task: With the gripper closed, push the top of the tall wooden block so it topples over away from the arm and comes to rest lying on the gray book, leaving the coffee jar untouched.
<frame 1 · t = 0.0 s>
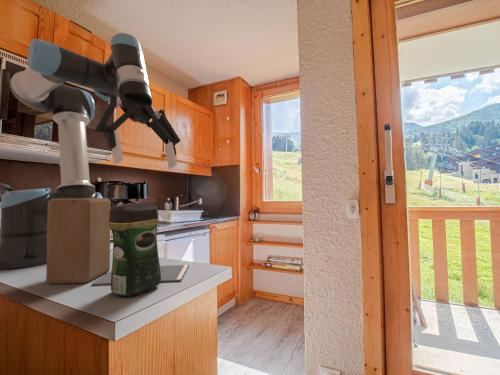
hand: (148, 164, 59), 28 cm above the counter, tool tilted 20°, fingers open, 13 cm apart
coffee jar: (136, 289, 53), on the counter, touching gray book
wooden block: (80, 278, 62), on the counter
gray book: (146, 274, 64), on the counter
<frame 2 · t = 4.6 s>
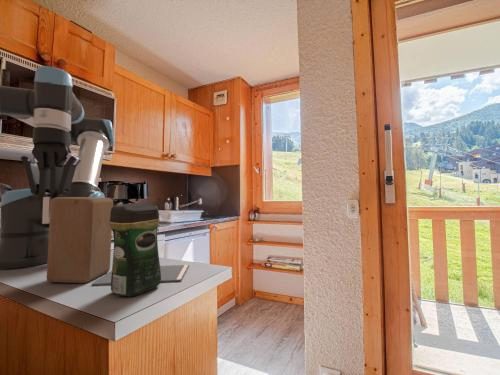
hand: (49, 223, 61), 14 cm above the counter, tool pointing down, fingers closed
wooden block: (80, 277, 62), on the counter, touching gripper
everything else where it was.
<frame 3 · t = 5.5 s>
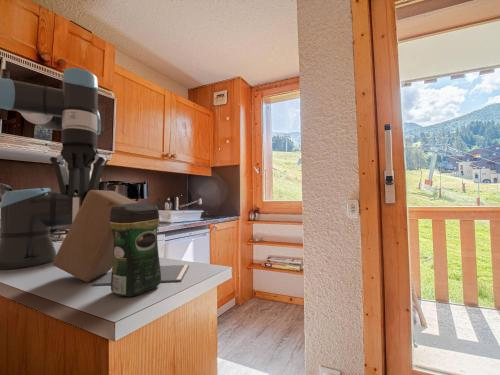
hand: (78, 223, 62), 14 cm above the counter, tool pointing down, fingers closed
wooden block: (82, 269, 62), point 2 cm above the counter, touching gripper
everything else where it was.
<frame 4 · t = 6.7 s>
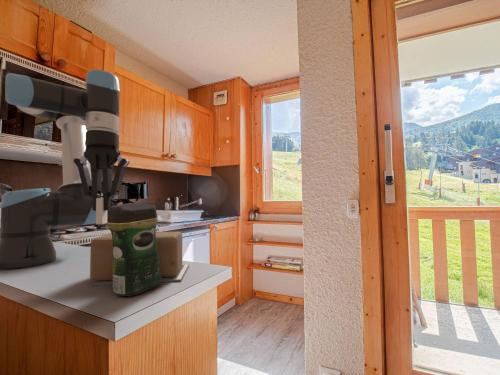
hand: (101, 223, 63), 13 cm above the counter, tool pointing down, fingers closed
wooden block: (97, 255, 62), point 5 cm above the counter, touching gray book
everything else where it was.
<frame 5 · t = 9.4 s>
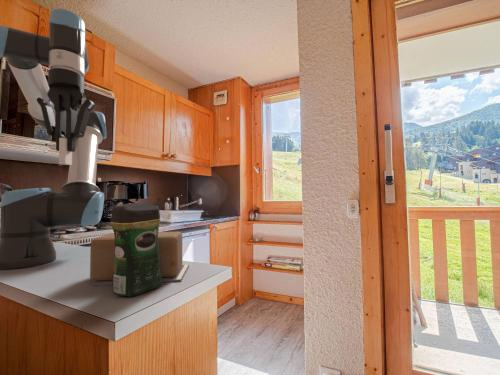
hand: (65, 164, 63), 29 cm above the counter, tool pointing down, fingers closed
nothing on the counter moved.
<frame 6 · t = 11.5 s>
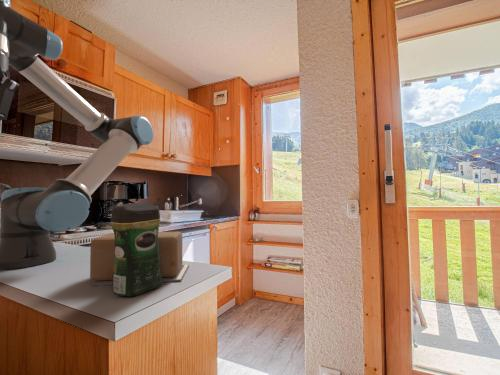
nothing on the counter moved.
at the end: wooden block tilted 90°; wooden block inside the target area (10.6 cm from its centre), point 5.4 cm above the counter; coffee jar moved 0.2 cm from its start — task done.
